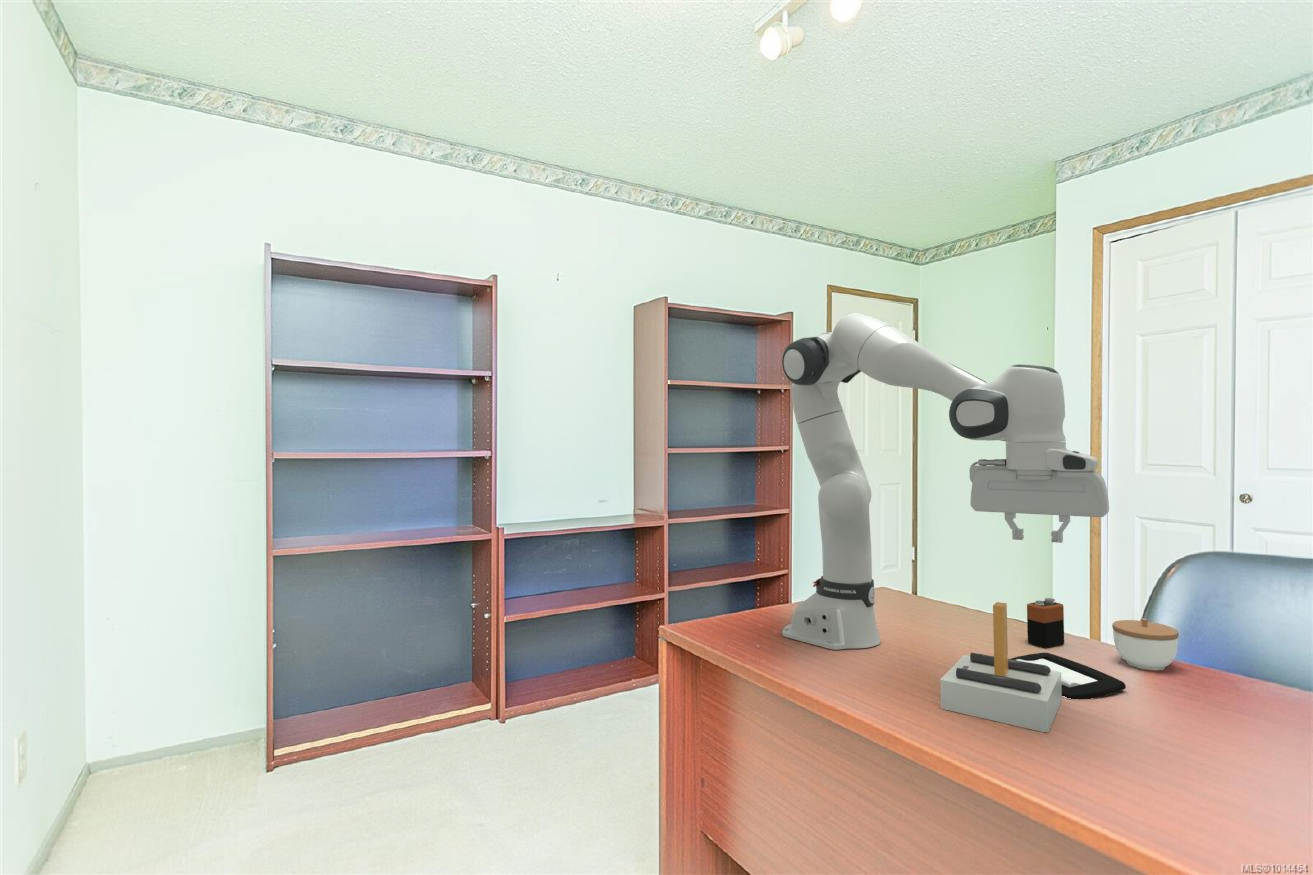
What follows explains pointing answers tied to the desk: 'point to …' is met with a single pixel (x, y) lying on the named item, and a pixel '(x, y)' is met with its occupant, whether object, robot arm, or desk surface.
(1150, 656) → the lidded jar
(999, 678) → the box
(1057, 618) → the battery
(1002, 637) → the lever
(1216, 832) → the desk surface
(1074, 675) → the black picture frame
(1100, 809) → the desk surface
